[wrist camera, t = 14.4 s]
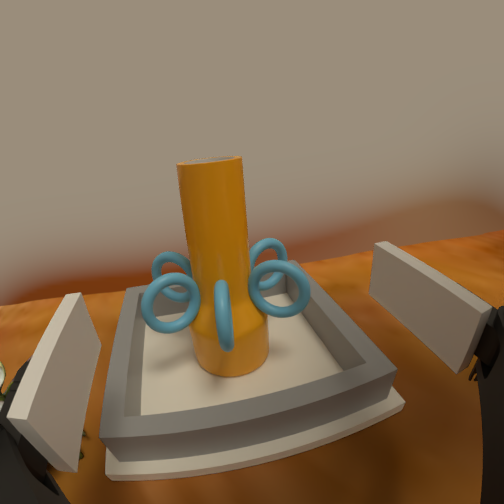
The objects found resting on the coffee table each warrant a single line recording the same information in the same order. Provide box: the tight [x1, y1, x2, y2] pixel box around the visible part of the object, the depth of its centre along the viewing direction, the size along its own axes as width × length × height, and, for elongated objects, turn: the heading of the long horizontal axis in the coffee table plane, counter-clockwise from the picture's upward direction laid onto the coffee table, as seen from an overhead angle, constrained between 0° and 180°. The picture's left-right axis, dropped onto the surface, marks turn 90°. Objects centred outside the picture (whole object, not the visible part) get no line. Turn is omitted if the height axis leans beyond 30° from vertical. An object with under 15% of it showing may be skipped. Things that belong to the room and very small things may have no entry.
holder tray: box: [99, 260, 405, 481], centre depth 23 cm, size 20×20×4 cm
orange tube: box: [141, 156, 311, 377], centre depth 20 cm, size 12×10×15 cm
